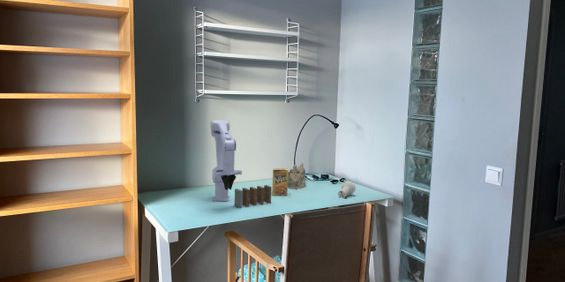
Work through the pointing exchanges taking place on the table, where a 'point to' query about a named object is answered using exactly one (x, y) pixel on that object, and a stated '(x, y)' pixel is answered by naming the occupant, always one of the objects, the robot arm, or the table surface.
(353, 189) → the pale grey rounded lump
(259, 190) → the domino
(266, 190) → the domino
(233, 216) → the table surface
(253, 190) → the domino
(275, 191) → the candy box
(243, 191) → the domino
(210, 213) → the table surface
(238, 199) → the domino
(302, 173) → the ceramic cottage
